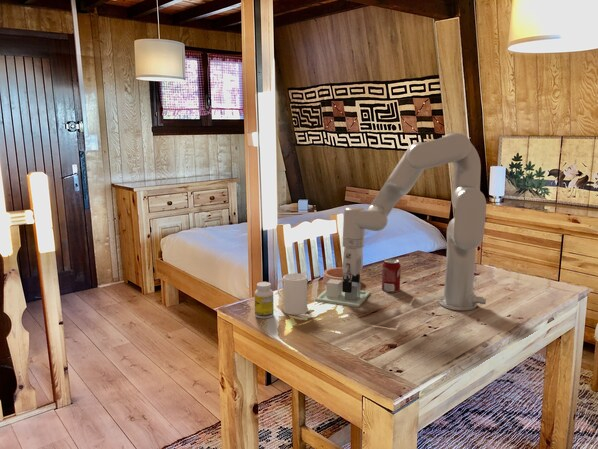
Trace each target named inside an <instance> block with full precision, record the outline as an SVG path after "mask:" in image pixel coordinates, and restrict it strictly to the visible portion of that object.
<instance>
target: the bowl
mask: <svg viewBox="0 0 598 449" xmlns="http://www.w3.org/2000/svg"><path fill="white" fill-rule="evenodd" d="M348 273H349V272H348ZM349 277H350V276H349ZM330 279H334V280H342V287H343V267H331V268H326V269H325V270H323V279H322V280H323V284H324V285H325V286H326V285H327V282H328V281H329V280H330Z"/></svg>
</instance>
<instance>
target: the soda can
mask: <svg viewBox="0 0 598 449" xmlns="http://www.w3.org/2000/svg"><path fill="white" fill-rule="evenodd" d="M401 269H402V265H401V263H400V260H399V259H397V258H386V259H384V262H383V263H382V269H381V270H382V271H381V272H382V273H381V275H382V276H381V290H382V291H383V292H387V293H398V292H399V291H401V271H402V270H401Z"/></svg>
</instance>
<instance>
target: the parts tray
mask: <svg viewBox="0 0 598 449" xmlns="http://www.w3.org/2000/svg"><path fill="white" fill-rule="evenodd" d="M370 295H371V291H367V290H361V289H360V298H359V299H358V300H357V301H351V300H345V292H343V291H342V295H341V296H340V297H339V298H338V299H337V298H330V297H326V289H325V290H323V291H322V292H321V293H320V294H319V295H317V296H316V297H315V302H321V303H328V304H333V305H340V306H348V307H352V308H353V307H354V308H360V306H361V305H362V304H363V303H364V301H365V300H366V299H367V298H368V297H369V296H370Z"/></svg>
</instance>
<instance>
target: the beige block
mask: <svg viewBox="0 0 598 449" xmlns="http://www.w3.org/2000/svg"><path fill="white" fill-rule="evenodd" d="M325 286H326V289H325V290H326V297H330V298H337V299H338V298H339V297H340V296H341V295H342V280H334V279H330V280H329V281H328V282H327V285H325Z"/></svg>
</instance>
